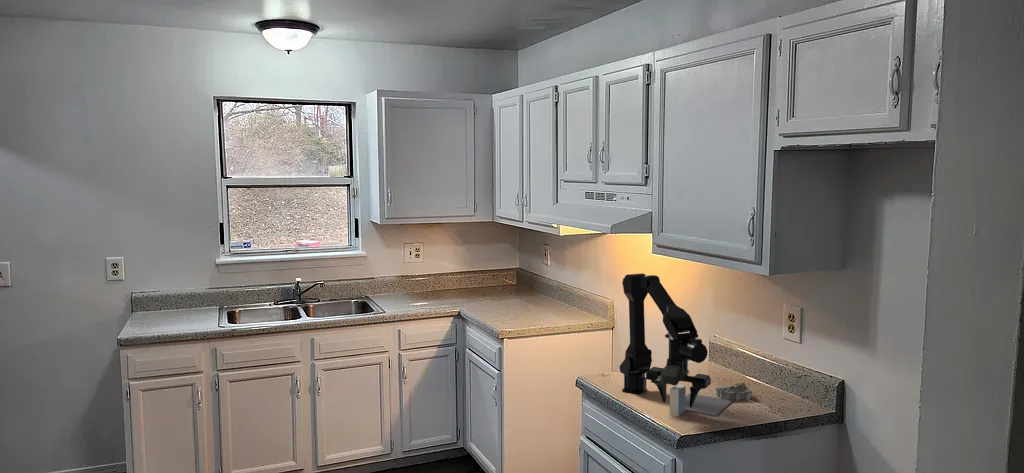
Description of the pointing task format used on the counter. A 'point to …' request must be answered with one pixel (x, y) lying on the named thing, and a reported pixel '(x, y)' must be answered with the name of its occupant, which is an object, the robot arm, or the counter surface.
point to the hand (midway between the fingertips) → (677, 404)
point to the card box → (677, 400)
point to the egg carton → (734, 392)
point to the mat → (706, 405)
